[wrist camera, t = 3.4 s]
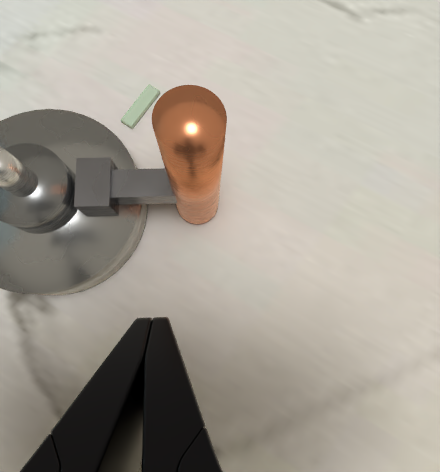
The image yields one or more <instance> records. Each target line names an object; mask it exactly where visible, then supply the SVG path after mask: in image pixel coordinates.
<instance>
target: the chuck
mask: <svg viewBox="0 0 440 472" xmlns="http://www.w3.org/2000/svg"><path fill="white" fill-rule="evenodd" d="M103 157H111V159H112V160H113V162H114V163H115V165H116V167H117V168H118V170H122V169H137V168H136V166H135V164H134V162H133V160H132V158H131V156H130V154H129V152H128V151H127V149H126V148H125V146H124V145H123V143H122V142H121V141H120V140H119V139H118V138H117V136H116V135H115V134H114V133H113V132H111V131H110V130H109V129H108V128H106V127H105V126H104V125H102V124H101V123H99V122H97V121H95V120H94V119H91V118H89V117H87V116H84V115H82V114H78V113H75V112H71V111H65V110H54V109H45V110H34V111H29V112H24V113H20V114H17V115H14V116H11V117H9V118H7V119H4V120H2V121H0V288H1V289H5V290H8V291H13V292H19V293H27V294H39V295H66V294H72V293H76V292H80V291H83V290H86V289H89V288H91V287H94V286H96V285H98V284H99V283H101V282H103V281H105V280H106V279H108V278H109V277H110V276H112V275H113V274H114V273H116V272H117V271H118V270H119V269H120V268H121V267H122V266H123V265H124V264H125V263H126V261H127V260H128V259H129V258H130V257H131V255H132V254H133V252H134V251H135V249H136V247H137V245H138V243H139V241H140V239H141V237H142V234H143V231H144V228H145V223H146V218H147V204H130V205H119V216H90V217H87V216H86V215H84V214H83V213H82V212H80V211H79V210H78V209H77V208H75V207H74V198H75V178H76V159H77V158H103Z"/></svg>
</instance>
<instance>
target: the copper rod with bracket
mask: <svg viewBox="0 0 440 472" xmlns="http://www.w3.org/2000/svg"><path fill="white" fill-rule="evenodd" d="M226 123H227V116H226V111H225V108H224V105H223V104H222V102H221V100H220V99H219V98H218V97H217V96H216V95H215V94H214V93H213V92H211V91H209V90H208V89H206V88H203V87H200V86H195V85H183V86H178V87H175V88H173V89H171V90H169V91H167V92H166V93H165V94H163V95H162V96H161V97H160V98H159V100H158V101H157V103H156V104H155V107H154V109H153V113H152V125H153V129H154V132H155V136H156V139H157V142H158V146H159V149H160V152H161V156H162V159H163V162H164V166H165V169H122V170H118V168H117V167H116V165H115V163H114V162H113V160H112V159H111V157H103V158H77V159H76V178H75V198H74V207H75V208H77V209H78V210H79V211H80V212H82V213H83V214H84V215H86V216H87V217H90V216H119V205H130V204H175V203H176V206H177V209H178V212H179V214H180V215H181V217H182V218H183V219H184V220H186V221H187V222H190V223H193V224H202V223H205V222H207V221H209V220H210V219H212V218H213V216H214V215H215V214H216V212H217V208H218V200H219V191H220V181H221V171H222V161H223V152H224V142H225V132H226Z"/></svg>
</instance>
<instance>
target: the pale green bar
mask: <svg viewBox="0 0 440 472" xmlns="http://www.w3.org/2000/svg"><path fill="white" fill-rule="evenodd" d="M159 94H160V91H159V90H158V89H156V88H155V87H153V86H151V85H150V84H149V85H148V86H147V87H146V88H145V90H144V91H143V92H142V94H141V95H140V96H139V97H138V99H137V100H136V101H135V102H134V104H133V105H132V106H131V107H130V109H129V110H128V111H127V113H126V114H125V115H124V116H123V118H122V119H121V122H122V123H124V124H125V125H127V126H128V127H130V128H132V129H133V127H134V126H135V125H136V124H137V122H138V121H139V120H140V118H141V117H142V116H143V115H144V113H145V112H146V111H147V109H148V108H149V107H150V106H151V104H152V103H153V102H154V100H155V99H156V98H157V97H158V95H159Z"/></svg>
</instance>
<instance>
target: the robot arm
mask: <svg viewBox="0 0 440 472" xmlns="http://www.w3.org/2000/svg"><path fill="white" fill-rule="evenodd" d="M51 434H52V435H51ZM51 434H49V435H48V436H47V437H46V439H45V440H44V441H43V443H42V444H41V445H40V447H39V448H38V449H37V451H36V452H35V453H34V454H33V456H32V457H31V458H30V459H29V461H28V462H27V463H26V464H25V466H24V467H23V468H22V469H21V471H20V472H139V469H140V464H141V459H142V472H223V471H222V469H221V467H220V465H219V462H218V459H217V457H216V454H215V451H214V449H213V446H212V444H211V441H210V438H209V435H208V432H207V429H206V428H205V423H204V420H203V418H202V415H201V412H200V409H199V406H198V403H197V400H196V397H195V394H194V391H193V388H192V385H191V382H190V379H189V377H188V374H187V371H186V368H185V365H184V362H183V359H182V356H181V353H180V350H179V347H178V344H177V341H176V338H175V335H174V333H173V330H172V327H171V324H170V321H169V319H168V318H167V317H157V318H153V319H152V318H138V319H136V320H135V321H134V322H133V324H132V325H131V326H130V328H129V329H128V330H127V332H126V333H125V334H124V336H123V337H122V338H121V340H120V341H119V342H118V344H117V345H116V346H115V348H114V349H113V350H112V352H111V353H110V354H109V356H108V357H107V358H106V360H105V361H104V362H103V363H102V365H101V366H100V367H99V369H98V370H97V371H96V373H95V374H94V375H93V377H92V378H91V379H90V381H89V382H88V383H87V385H86V386H85V387H84V389H83V390H82V391H81V393H80V394H79V395H78V397H77V398H76V399H75V400H74V402H73V403H72V404H71V406H70V407H69V408H68V410H67V411H66V412H65V414H64V415H63V416H62V418H61V419H60V420H59V422H58V423H57V424H56V426H55V427H54V428H53V430H52V431H51Z"/></svg>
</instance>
